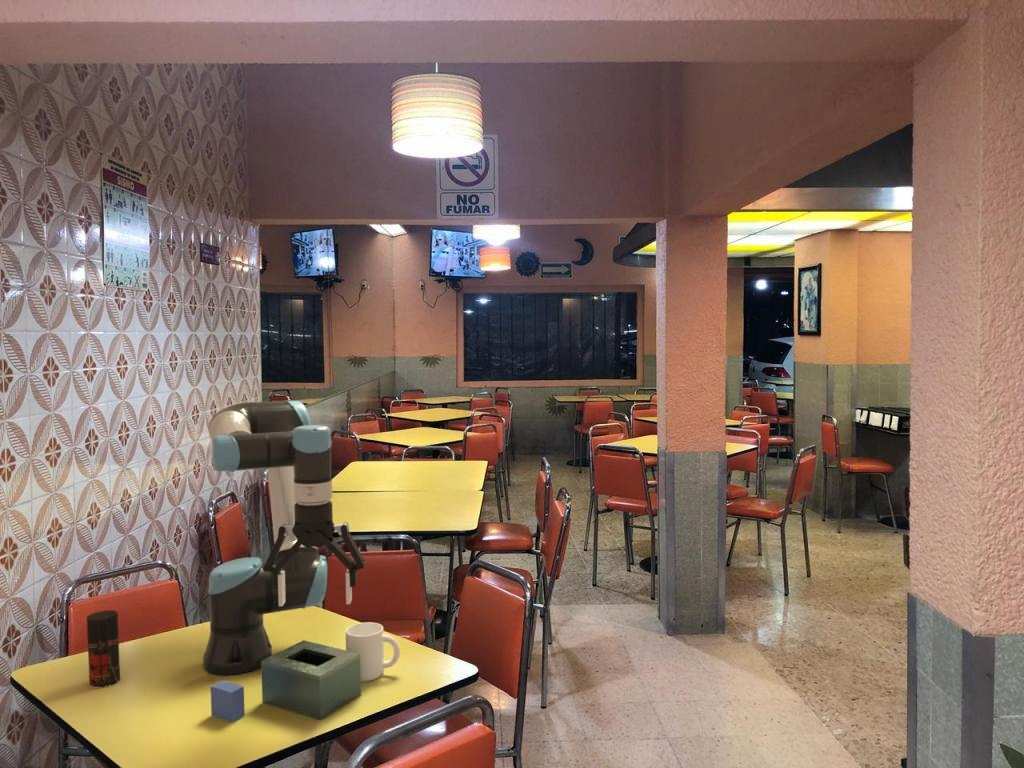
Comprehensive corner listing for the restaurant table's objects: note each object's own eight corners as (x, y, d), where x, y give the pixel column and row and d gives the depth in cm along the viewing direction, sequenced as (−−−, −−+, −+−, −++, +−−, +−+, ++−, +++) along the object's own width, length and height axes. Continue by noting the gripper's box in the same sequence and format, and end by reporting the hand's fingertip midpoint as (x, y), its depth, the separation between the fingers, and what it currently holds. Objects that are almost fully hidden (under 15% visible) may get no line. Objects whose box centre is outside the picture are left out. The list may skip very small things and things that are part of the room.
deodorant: (85, 682, 162) (82, 615, 162) (114, 673, 167) (112, 608, 166) (94, 690, 158) (92, 622, 158) (124, 681, 163) (121, 614, 162)
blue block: (211, 715, 147) (210, 686, 146) (223, 709, 149) (223, 680, 149) (232, 722, 144) (231, 692, 143) (244, 715, 146) (243, 686, 146)
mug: (404, 666, 168) (403, 622, 168) (396, 683, 160) (394, 636, 159) (352, 666, 169) (351, 622, 168) (341, 682, 161) (340, 636, 160)
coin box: (262, 702, 152) (261, 660, 151) (304, 679, 162) (303, 640, 162) (320, 720, 144) (319, 676, 144) (361, 694, 155) (360, 653, 154)
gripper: (245, 506, 146) (248, 611, 147) (372, 504, 147) (374, 607, 149) (256, 498, 153) (259, 598, 154) (377, 496, 155) (378, 594, 156)
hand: (315, 603), depth 152 cm, fingers open, 13 cm apart
